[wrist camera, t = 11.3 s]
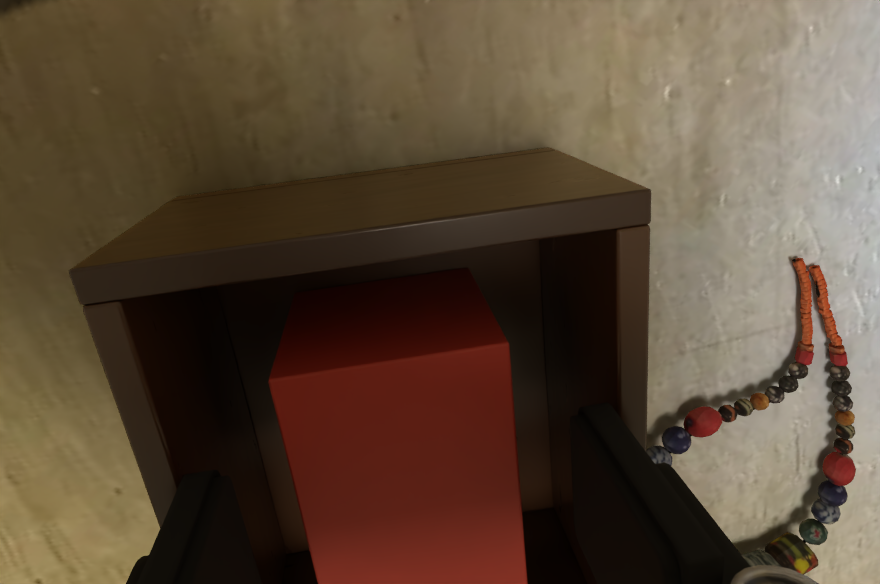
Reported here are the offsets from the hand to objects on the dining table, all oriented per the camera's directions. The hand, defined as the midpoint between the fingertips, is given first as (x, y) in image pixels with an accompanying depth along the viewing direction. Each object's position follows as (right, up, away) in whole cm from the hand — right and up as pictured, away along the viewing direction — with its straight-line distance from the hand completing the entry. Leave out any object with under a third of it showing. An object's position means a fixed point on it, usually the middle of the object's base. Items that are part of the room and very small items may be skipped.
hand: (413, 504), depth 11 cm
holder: (-1, +2, +5) cm, 6 cm away
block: (-1, +2, +5) cm, 5 cm away
